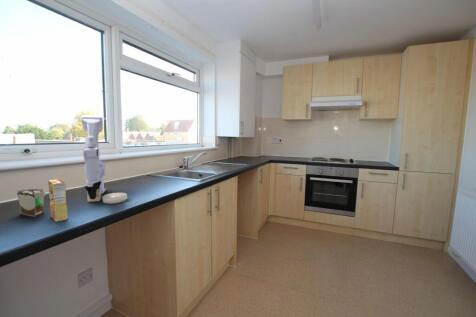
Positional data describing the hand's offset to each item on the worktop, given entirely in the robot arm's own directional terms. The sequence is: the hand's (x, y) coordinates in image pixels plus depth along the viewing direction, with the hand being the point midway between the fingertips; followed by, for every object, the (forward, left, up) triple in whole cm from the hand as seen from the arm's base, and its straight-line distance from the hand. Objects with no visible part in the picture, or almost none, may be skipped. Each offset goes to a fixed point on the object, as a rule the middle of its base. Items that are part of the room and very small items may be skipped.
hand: (94, 197), depth 115 cm
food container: (+13, -19, -2) cm, 23 cm away
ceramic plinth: (+4, +10, -1) cm, 11 cm away
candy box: (+23, -8, -2) cm, 24 cm away
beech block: (0, 0, -2) cm, 2 cm away
